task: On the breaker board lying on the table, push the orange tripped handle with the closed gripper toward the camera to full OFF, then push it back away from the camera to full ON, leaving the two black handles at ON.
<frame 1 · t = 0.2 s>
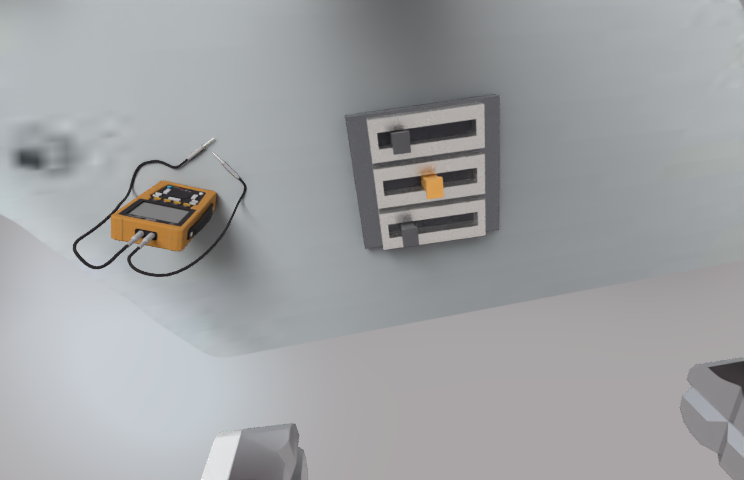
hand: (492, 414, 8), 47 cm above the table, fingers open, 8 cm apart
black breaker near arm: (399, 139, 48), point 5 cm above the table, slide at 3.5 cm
breaker board: (424, 173, 55), on the table
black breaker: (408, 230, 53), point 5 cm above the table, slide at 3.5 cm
orange breaker: (431, 183, 51), point 5 cm above the table, slide at 0.0 cm
multimeter: (191, 168, 53), on the table
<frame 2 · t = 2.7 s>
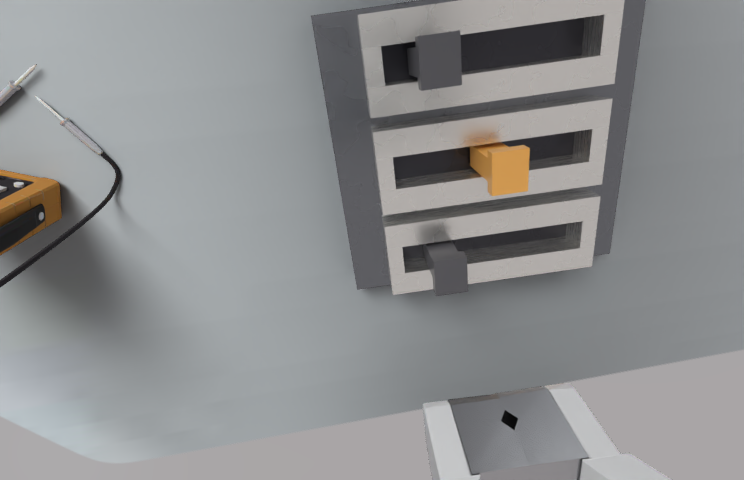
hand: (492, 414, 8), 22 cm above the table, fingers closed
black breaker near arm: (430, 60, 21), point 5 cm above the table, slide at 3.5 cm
breaker board: (473, 145, 28), on the table
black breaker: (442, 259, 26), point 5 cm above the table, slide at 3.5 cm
orange breaker: (496, 162, 24), point 5 cm above the table, slide at 0.0 cm
multimeter: (3, 134, 26), on the table
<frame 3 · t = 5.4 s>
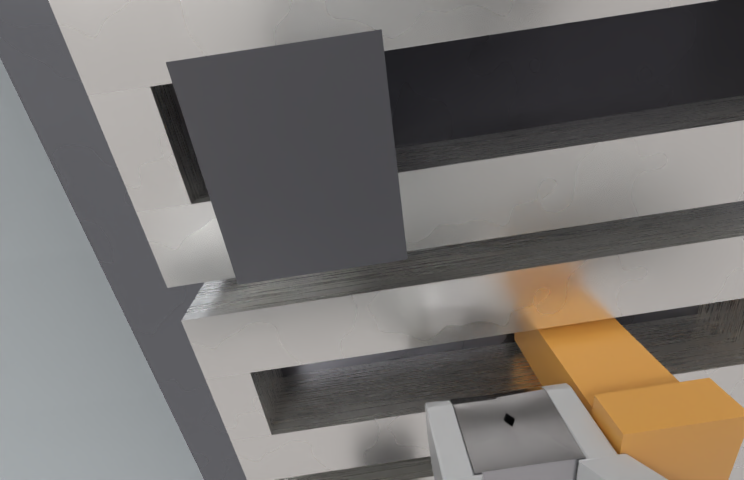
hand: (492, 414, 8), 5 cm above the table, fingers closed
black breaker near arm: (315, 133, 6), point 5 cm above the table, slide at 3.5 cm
breaker board: (468, 279, 13), on the table
orange breaker: (595, 375, 9), point 5 cm above the table, slide at -1.5 cm, touching gripper
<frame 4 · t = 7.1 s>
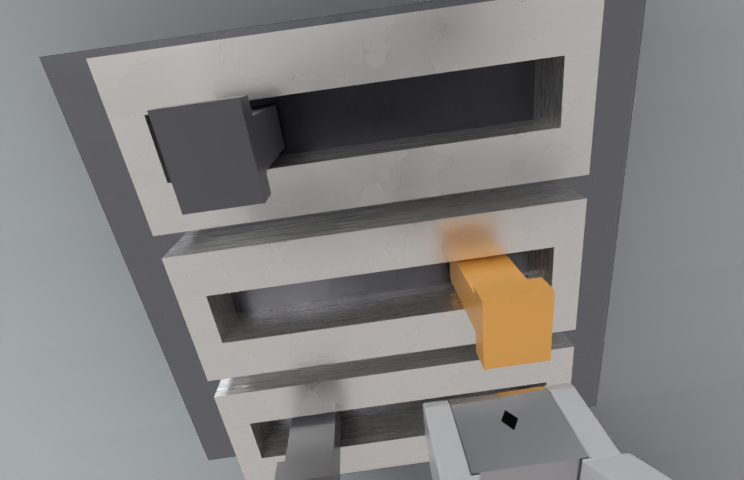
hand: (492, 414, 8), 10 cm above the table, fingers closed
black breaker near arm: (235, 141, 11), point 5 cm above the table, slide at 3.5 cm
breaker board: (376, 249, 18), on the table
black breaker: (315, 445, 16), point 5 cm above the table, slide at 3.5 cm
orange breaker: (491, 290, 14), point 5 cm above the table, slide at -3.6 cm
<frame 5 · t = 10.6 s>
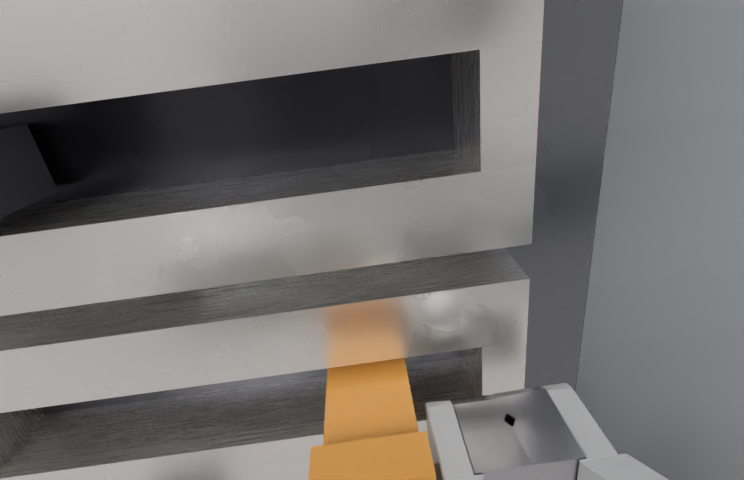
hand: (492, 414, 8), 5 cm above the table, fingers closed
breaker board: (258, 315, 13), on the table
orange breaker: (371, 417, 9), point 5 cm above the table, slide at -3.4 cm, touching gripper
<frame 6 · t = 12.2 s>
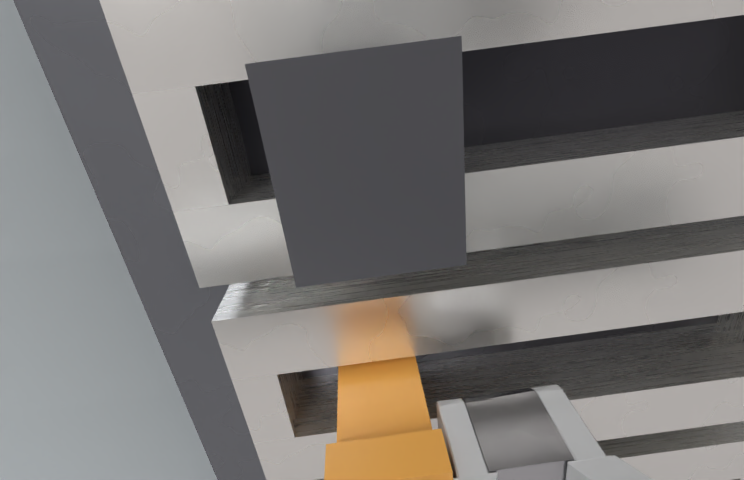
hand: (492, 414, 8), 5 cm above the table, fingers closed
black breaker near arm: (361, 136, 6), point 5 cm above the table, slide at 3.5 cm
breaker board: (487, 284, 13), on the table
orange breaker: (383, 415, 9), point 5 cm above the table, slide at 3.8 cm, touching gripper
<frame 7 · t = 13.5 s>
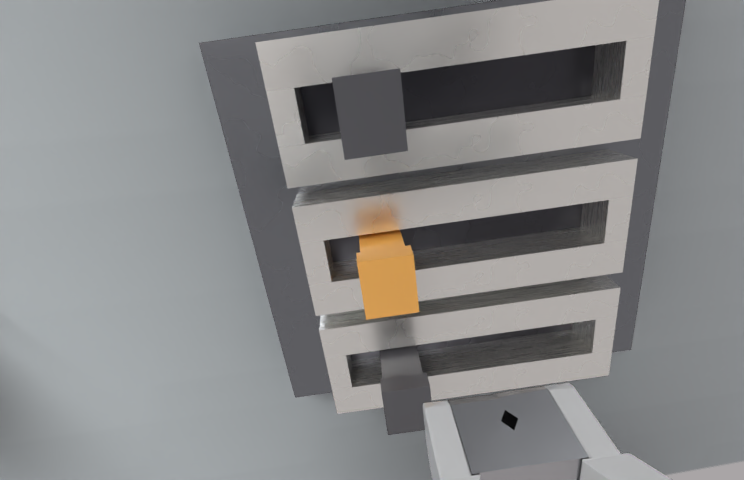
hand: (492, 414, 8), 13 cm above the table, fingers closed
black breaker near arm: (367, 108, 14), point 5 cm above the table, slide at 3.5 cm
breaker board: (446, 211, 21), on the table
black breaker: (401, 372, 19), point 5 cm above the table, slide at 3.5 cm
orange breaker: (383, 260, 17), point 5 cm above the table, slide at 3.6 cm
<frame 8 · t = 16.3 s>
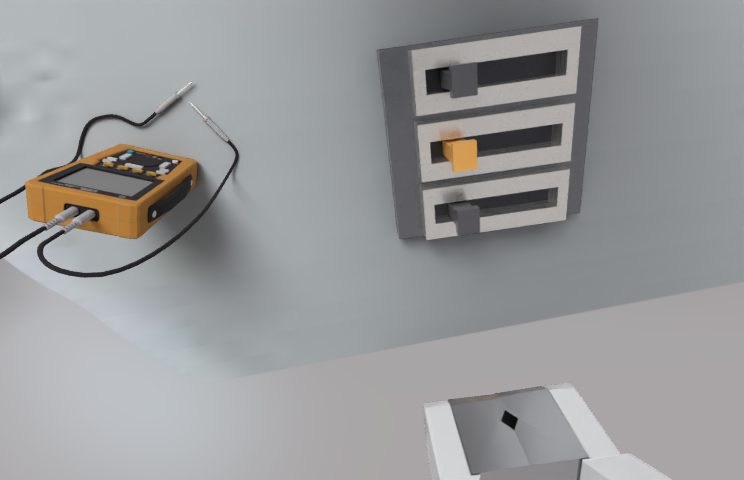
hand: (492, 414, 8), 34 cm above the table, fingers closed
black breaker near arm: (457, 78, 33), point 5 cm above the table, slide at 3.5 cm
breaker board: (482, 135, 40), on the table
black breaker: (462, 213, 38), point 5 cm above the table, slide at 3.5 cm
orange breaker: (458, 150, 36), point 5 cm above the table, slide at 3.6 cm
multimeter: (162, 127, 38), on the table
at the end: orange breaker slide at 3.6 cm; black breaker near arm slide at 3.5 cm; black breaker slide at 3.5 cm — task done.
